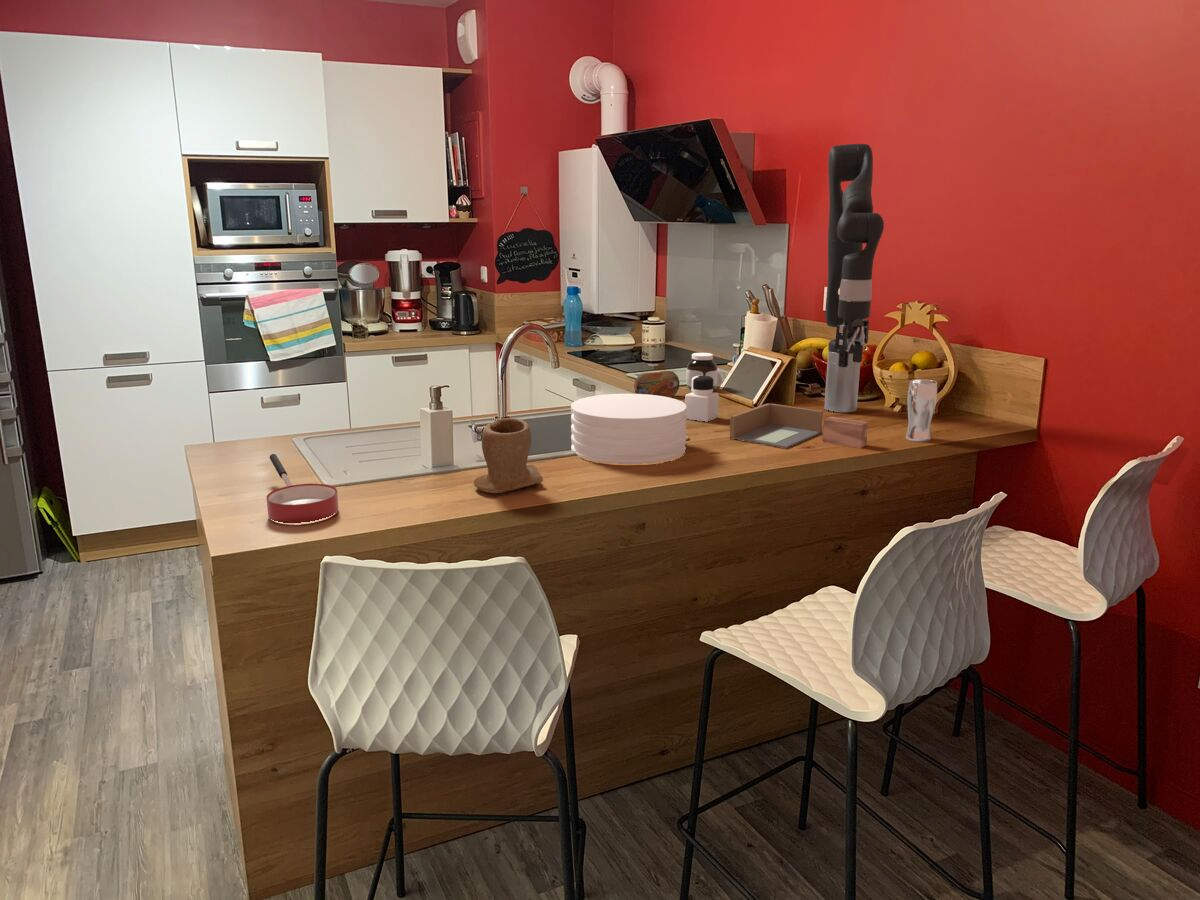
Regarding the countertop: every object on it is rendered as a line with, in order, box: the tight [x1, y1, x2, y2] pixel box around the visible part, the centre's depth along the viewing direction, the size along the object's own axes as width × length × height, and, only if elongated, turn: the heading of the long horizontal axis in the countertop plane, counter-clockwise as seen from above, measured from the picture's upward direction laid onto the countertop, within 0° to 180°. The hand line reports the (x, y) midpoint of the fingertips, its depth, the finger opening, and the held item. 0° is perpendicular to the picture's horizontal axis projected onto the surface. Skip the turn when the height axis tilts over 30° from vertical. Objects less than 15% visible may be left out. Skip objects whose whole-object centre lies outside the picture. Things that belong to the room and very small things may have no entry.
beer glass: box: [905, 378, 938, 443], centre depth 229 cm, size 7×7×15 cm
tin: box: [633, 370, 680, 398], centre depth 279 cm, size 15×3×8 cm, turn 115°
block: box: [822, 416, 869, 449], centre depth 226 cm, size 4×10×6 cm, turn 52°
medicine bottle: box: [684, 376, 720, 423], centre depth 252 cm, size 7×7×12 cm
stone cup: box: [473, 417, 544, 494], centre depth 189 cm, size 15×12×15 cm
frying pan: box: [265, 453, 340, 523], centre depth 181 cm, size 32×13×6 cm, turn 37°
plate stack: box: [570, 393, 687, 464], centre depth 219 cm, size 28×28×12 cm
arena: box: [729, 402, 824, 449], centre depth 233 cm, size 20×16×6 cm
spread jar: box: [685, 352, 724, 390], centre depth 293 cm, size 12×11×12 cm
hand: (850, 364), depth 221 cm, fingers open, 8 cm apart
